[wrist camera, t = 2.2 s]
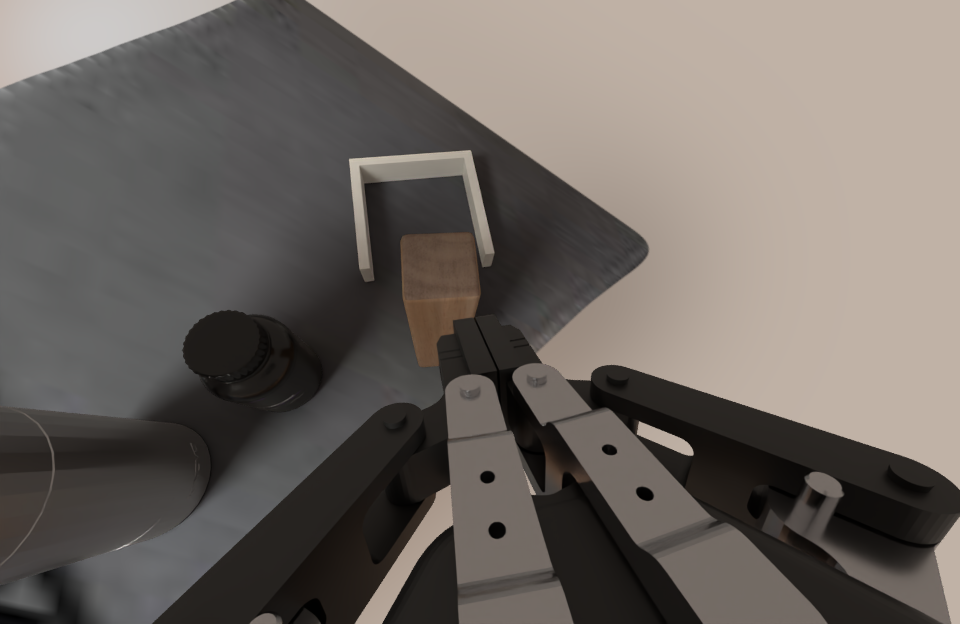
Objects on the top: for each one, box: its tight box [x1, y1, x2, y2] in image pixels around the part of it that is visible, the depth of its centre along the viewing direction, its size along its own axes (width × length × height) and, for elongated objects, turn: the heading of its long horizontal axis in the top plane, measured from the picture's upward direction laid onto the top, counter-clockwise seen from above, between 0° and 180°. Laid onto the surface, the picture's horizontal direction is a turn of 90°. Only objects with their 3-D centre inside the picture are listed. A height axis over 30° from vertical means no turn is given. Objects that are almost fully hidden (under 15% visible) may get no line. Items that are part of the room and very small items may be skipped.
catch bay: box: [349, 150, 494, 282], centre depth 42 cm, size 14×14×3 cm
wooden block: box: [400, 232, 481, 367], centre depth 31 cm, size 9×4×18 cm, turn 6°
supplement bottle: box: [182, 310, 322, 412], centre depth 30 cm, size 7×7×12 cm
